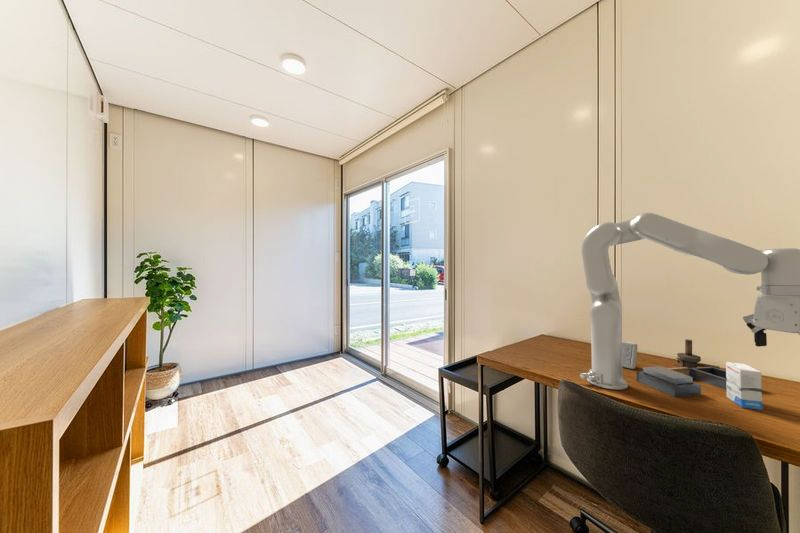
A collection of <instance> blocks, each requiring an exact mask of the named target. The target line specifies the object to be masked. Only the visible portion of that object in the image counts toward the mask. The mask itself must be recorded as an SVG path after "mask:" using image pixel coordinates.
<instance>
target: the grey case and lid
mask: <svg viewBox="0 0 800 533" xmlns="http://www.w3.org/2000/svg"><path fill="white" fill-rule="evenodd" d="M642 368H643V369H642V371H641V370H640V371H636V382H639V383H640V382H641V384H643V385H645V384H646V385H645V386H647V385H648V387H650V388H652V387H653V388H652V389H654V388H655V390H657V391H659V392H661V391H662V393H663V394H667V395H668V396H671V397H673V398H681V397H682V398H683V397H693V396H701V395H702V384H699V383H697V382H694V380H693V379H695V380H698V381H701V382H702V383H705V384H708V385H711V386H715V387H718V388H720V389H722V390H726V391H727V386H726V369H722V368H718V367H715V366H700V367H698V366H697V368H688V367H680V366H679V367H669V368H668V367H664V366H661V365H656V366H643V367H642Z"/></svg>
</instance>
